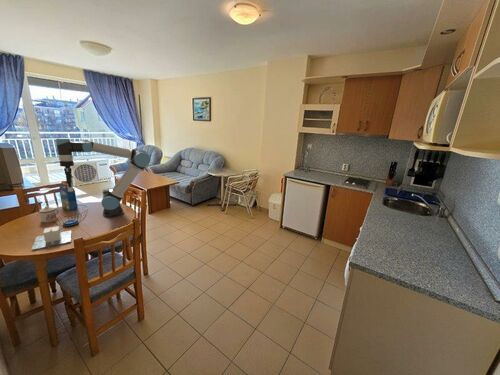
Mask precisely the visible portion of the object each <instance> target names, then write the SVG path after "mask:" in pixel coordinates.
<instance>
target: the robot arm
mask: <svg viewBox="0 0 500 375" xmlns="http://www.w3.org/2000/svg"><path fill="white" fill-rule="evenodd" d="M55 142H56V143H55V144H56V148H57V154H58V155H57V158H58V160H59V166H60V167H62V168H64V169H63V171H64V175H65V181H64V182H65V183H67V187H68V192H71V191H73V188H74V186H75V185H74V180H73V179H74V176H73V175H72V174H73V172H72V169H73V168H72V167H73V166H75V163H74V156H73V153H97V154H104V155H108V156H115V157H118V158H125V159H128V160H130V161H129V166H128V167H127V169H125V172H123V174H122V175H121V176H120V178H119V180H118V181H117V182H116V184H115V185H114V187H112V188H111V187H110V188H104V189H103V190H102V199H101V206H102V208H103V211H102V215H103V217H105V218H115V217H119V216H121V215H123V214H124V209H123V207H122V205H121V202H122V201H123V199H124V194H125V193H126V191H127V189H129V187H130V186H131V184H132V183H133V182H134V180H135V179H136V178H137V176H138V174H139V173H140V172H141V171H142V172H143V171H144V170H145V168H146V167H147V166H149V165H150V163H151V157H150V155H149V154H148V152H146V151H145V150H141V149H134V148H131V149H128V148H123V147H118V146H113V145H109V144H104V143H100V142H95V141H94V142H93V141H90V140H87V139H81V140H80V141H71V139H70V138H68V137H67V138H66V137H58V138H56V139H55Z"/></svg>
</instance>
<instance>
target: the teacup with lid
mask: <svg viewBox="0 0 500 375" xmlns="http://www.w3.org/2000/svg"><path fill="white" fill-rule="evenodd" d="M38 212H39V216H40V220H41V222H42V223H52V222H54V221H56V220H57V219H58V218H57V215H59V209H57V208H54V207H50V206H48V205H47V206H44V208H40V209H39V211H38Z"/></svg>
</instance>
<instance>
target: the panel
mask: <svg viewBox="0 0 500 375" xmlns="http://www.w3.org/2000/svg"><path fill="white" fill-rule="evenodd" d="M60 234H61V237H60V240H57V241H52V242H47V243H45V238H44V234H43V235H38V236H36V237H35V240H34V242H33V245H32V247H31V251H32V250H34V251H39V250H43V248H44V249H47V248H48V247H49V248H53V247H58V246H62V244H63V245H68V244H72V230H66V231H62V232H61V231H60ZM67 243H68V244H67ZM57 245H58V246H57ZM52 246H53V247H52ZM38 249H39V250H38Z"/></svg>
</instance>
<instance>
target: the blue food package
mask: <svg viewBox="0 0 500 375" xmlns="http://www.w3.org/2000/svg"><path fill="white" fill-rule="evenodd" d="M65 182H66V181H64V180H61V185H60V186H59V189H58V190H59V191H58V192H59V197H60V202H61V206H62V209H64V210H66V211H70V212H72V211H75V210H78V209H79V208H78V202H77V196H76V190H75V188H74V187H73V191H71V192H68V187H67V183H65Z"/></svg>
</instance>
